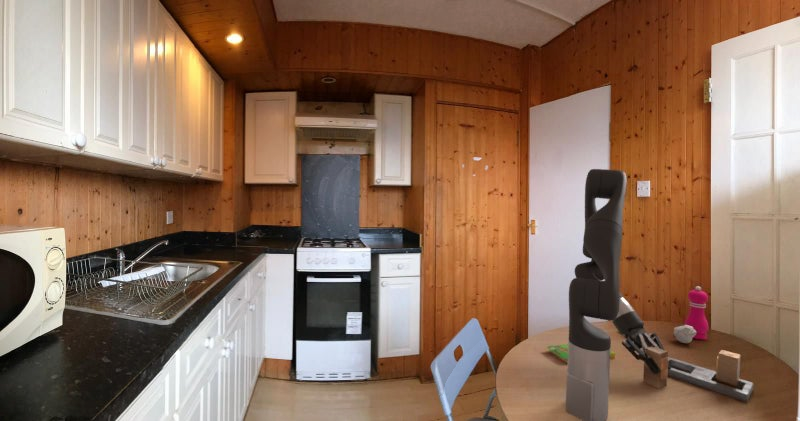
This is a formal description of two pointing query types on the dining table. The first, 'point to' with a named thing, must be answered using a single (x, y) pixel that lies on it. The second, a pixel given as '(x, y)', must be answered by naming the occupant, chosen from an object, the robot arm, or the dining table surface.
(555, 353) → the game box
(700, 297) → the pepper mill
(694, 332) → the crumpled paper ball
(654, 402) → the dining table surface
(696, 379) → the gray block holder
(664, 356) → the tan wooden block
